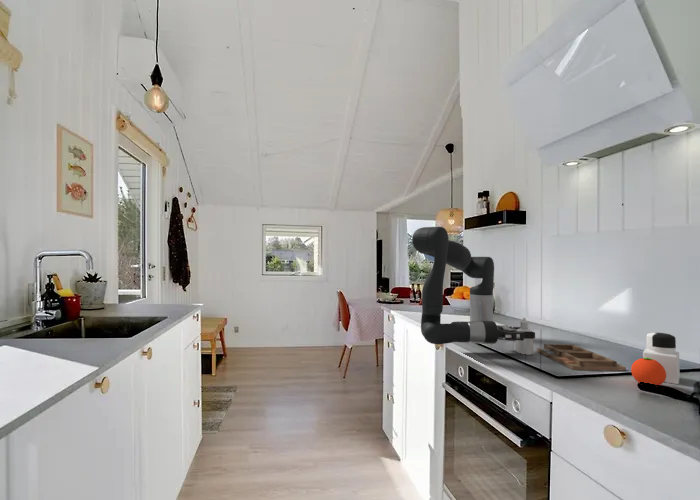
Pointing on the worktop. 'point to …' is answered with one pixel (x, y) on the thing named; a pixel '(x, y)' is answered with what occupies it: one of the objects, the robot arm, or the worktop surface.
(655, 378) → the clementine
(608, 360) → the wooden compartment tray
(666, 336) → the medicine bottle
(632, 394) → the worktop surface
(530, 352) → the eye dropper bottle
